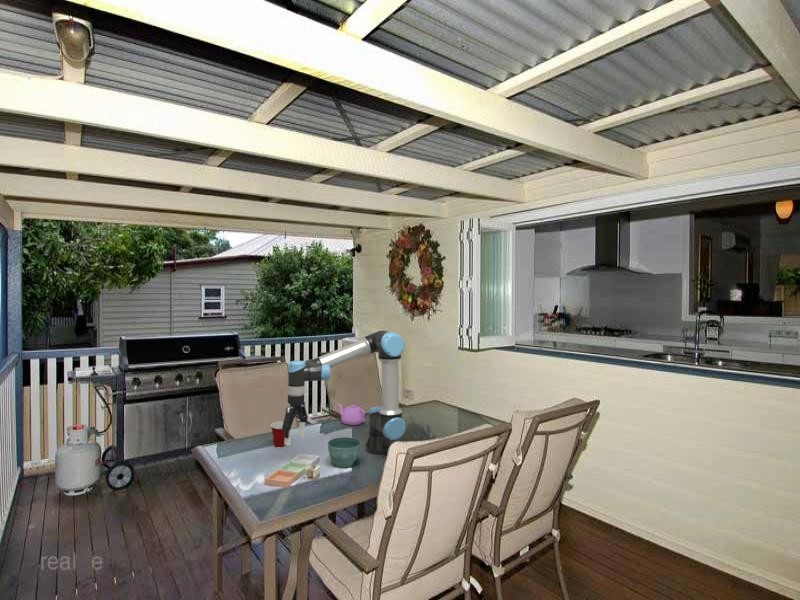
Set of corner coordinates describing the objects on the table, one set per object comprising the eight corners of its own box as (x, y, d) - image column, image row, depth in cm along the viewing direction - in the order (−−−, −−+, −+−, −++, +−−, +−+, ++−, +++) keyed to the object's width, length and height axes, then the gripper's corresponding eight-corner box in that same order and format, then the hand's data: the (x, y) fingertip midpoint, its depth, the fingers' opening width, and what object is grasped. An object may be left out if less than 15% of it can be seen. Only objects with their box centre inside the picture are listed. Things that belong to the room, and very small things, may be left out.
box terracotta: (298, 478, 204) (298, 472, 204) (286, 487, 193) (287, 482, 193) (277, 475, 206) (277, 469, 206) (264, 484, 196) (265, 478, 196)
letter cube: (319, 477, 206) (320, 465, 206) (315, 481, 201) (315, 470, 201) (309, 475, 207) (310, 464, 207) (304, 479, 203) (305, 468, 202)
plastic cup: (278, 451, 238) (278, 428, 238) (265, 446, 244) (266, 424, 244) (294, 445, 246) (295, 423, 246) (282, 441, 253) (282, 420, 253)
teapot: (369, 422, 295) (370, 404, 295) (360, 428, 282) (360, 409, 282) (342, 418, 302) (343, 401, 302) (332, 423, 290) (332, 405, 290)
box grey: (319, 461, 225) (319, 456, 225) (310, 469, 215) (310, 463, 215) (300, 458, 228) (300, 453, 228) (289, 466, 217) (290, 461, 217)
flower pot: (346, 473, 211) (346, 450, 211) (320, 465, 219) (320, 443, 219) (366, 463, 224) (367, 441, 224) (341, 456, 233) (341, 435, 233)
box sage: (309, 469, 214) (309, 464, 214) (299, 478, 204) (299, 472, 204) (289, 466, 217) (289, 461, 217) (278, 474, 207) (278, 469, 207)
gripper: (301, 388, 223) (300, 431, 224) (274, 399, 199) (273, 447, 199) (315, 389, 221) (314, 433, 222) (290, 401, 197) (288, 449, 198)
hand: (294, 440), depth 211 cm, fingers open, 13 cm apart
